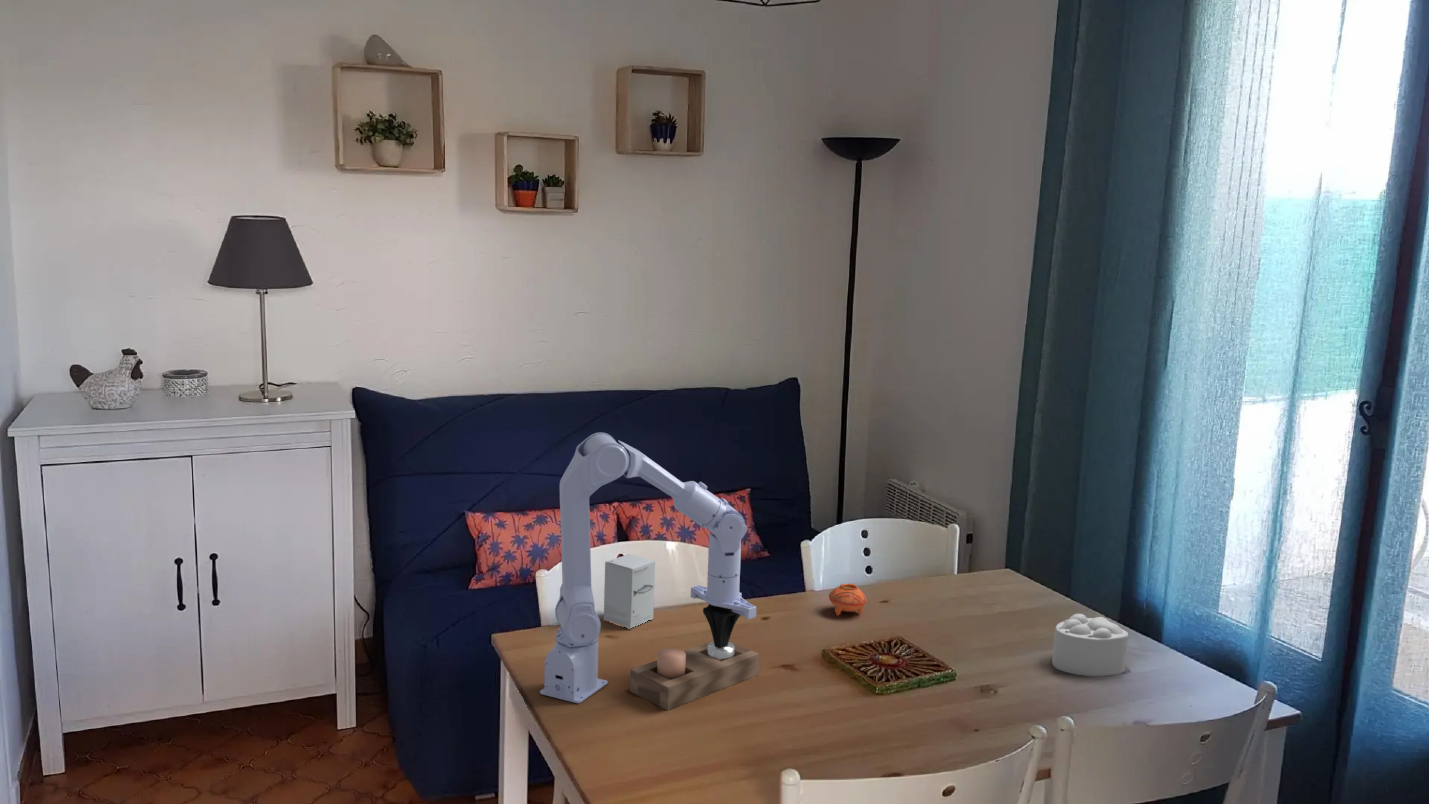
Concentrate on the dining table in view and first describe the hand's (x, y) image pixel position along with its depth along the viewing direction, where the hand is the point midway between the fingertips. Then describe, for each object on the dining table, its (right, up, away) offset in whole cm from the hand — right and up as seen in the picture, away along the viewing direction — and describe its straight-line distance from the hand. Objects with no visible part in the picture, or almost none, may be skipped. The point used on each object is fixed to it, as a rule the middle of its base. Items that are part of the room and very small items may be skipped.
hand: (721, 645), depth 196 cm
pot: (+27, -1, +34) cm, 43 cm away
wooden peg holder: (-4, -6, -3) cm, 8 cm away
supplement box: (-18, -1, +25) cm, 31 cm away
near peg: (-9, -3, -8) cm, 12 cm away
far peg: (0, -4, +1) cm, 4 cm away
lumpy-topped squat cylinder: (+69, -6, +11) cm, 70 cm away
